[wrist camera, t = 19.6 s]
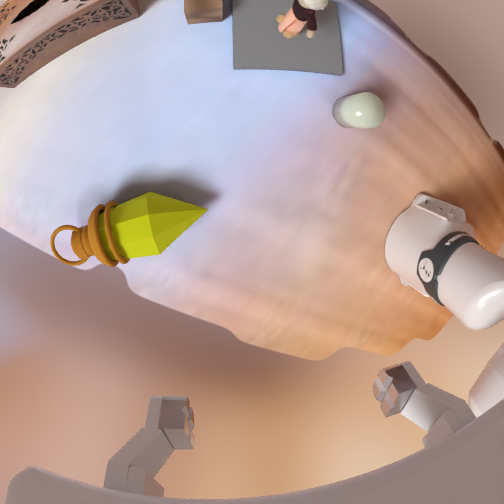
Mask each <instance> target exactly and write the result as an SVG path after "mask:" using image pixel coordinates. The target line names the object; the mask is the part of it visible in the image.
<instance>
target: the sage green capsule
mask: <svg viewBox="0 0 504 504" xmlns="http://www.w3.org/2000/svg"><path fill="white" fill-rule="evenodd" d="M333 116H334V119H335V120H336V122H337V123H338V124H339V125H341V126H342V127H345V128H375V127H378V126H379V125H380V124H381V123H382V122H383V120H384V118H385V108H384V105H383V103H382V101H381V99H380V98H379V97H378V96H376V95H375V94H373V93H370V92H362V93H358V94H354V95H350V96H346V97H343V98H340V99H338V100H337V101H336V102H335V103H334V105H333Z"/></svg>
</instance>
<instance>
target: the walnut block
mask: <svg viewBox="0 0 504 504" xmlns="http://www.w3.org/2000/svg"><path fill="white" fill-rule="evenodd" d="M184 13H185V16H186V19H187V23H188V24H196V23H206V22H220V21H222V18H223V0H184Z"/></svg>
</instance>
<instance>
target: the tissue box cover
mask: <svg viewBox="0 0 504 504" xmlns="http://www.w3.org/2000/svg"><path fill="white" fill-rule="evenodd" d="M139 17H140V15H139V9H138V4H137V0H8V1H6V2H5V3H4V4H3V5H2V6H1V7H0V87H7V88H15V87H16V86H17V85H18V84H20V83H21V82H22V81H24V80H25V79H26V78H28V77H29V76H30V75H32V74H33V73H35V72H36V71H37V70H39V69H40V68H42V67H43V66H45V65H46V64H48V63H49V62H51V61H52V60H54V59H55V58H57V57H59V56H60V55H62V54H64V53H65V52H67V51H69V50H70V49H72V48H74V47H76V46H78V45H79V44H81V43H83V42H85V41H87V40H89V39H91V38H93V37H95V36H97V35H99V34H101V33H103V32H105V31H107V30H109V29H112V28H114V27H116V26H119V25H121V24H123V23H126V22H128V21H131V20H133V19H136V18H139Z"/></svg>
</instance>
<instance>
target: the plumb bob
mask: <svg viewBox="0 0 504 504" xmlns="http://www.w3.org/2000/svg"><path fill="white" fill-rule="evenodd" d="M111 207H113V208H111ZM207 210H208V209H206V208H203V207H199V206H196V205H193V204H190V203H186V202H183V201H180V200H177V199H173V198H170V197H167V196H163V195H160V194H157V193H153V192H148V193H145V194H143V195H140V196H138V197H136V198H133V199H131V200H129V201H126V202H124V203H122V204H119V205H118V204H117V203H116V202H115V201H109V202H108V203H107V205H106V206H104V205H102V204H99V205H98V206H96V208H95V209H94V210H93V211H92V213H91V215H90V217H89V219H88V225H87V226H85V227H81V228H78V227H75V226H72V225H63V226H60V227H59V228H57V229H56V230H55V231H54V232H53V234H52V236H51V242H50V243H51V249H52V251H53V253H54V255H55V256H56V257H57V258H58V259H59V260H60V261H61V262H63V263H65V264H68V265H74V266H75V265H80V264H83V263H84V262H86V261H87V260H88V258H89V257H90V256H91V255H92V256H93V255H95V256H96V257H97V259H98V260H99V261H100V262H102V263H103V264H105V265H108V266H110V267H115V266H116V265H117V264H118V262H120V263H122V264H126V263H128V261H129V260H130V258H136V257H143V256H151V255H158V254H161V253H162V252H163V251H164V250H165V249H166V248H167V247H168V246H169V245H170V244H171V243H172V242H173V241H174V240H176V239H177V238H178V237H179V236H180V235H181V234H182V233H183V232H184V231H185V230H186V229H187V228H188V227H190V226H191V225H192V224H193V223H194V222H195V221H196V220H197V219H198V218H200V217H201V216H202V215H203V214H204V213H205V212H206V211H207ZM66 229H68V230H73V232H72V236H71V246H72V249H73V251H74V253H75V254H76V255H77V256H78V257H79V258H80V259H82V260H79V261H68V260H66V259H64V258H63V257H61V256H60V255H59V254H58V252H57V251H56V249H55V245H54V239H55V236H56V235H57V233H58V232H60V231H62V230H66Z"/></svg>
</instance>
